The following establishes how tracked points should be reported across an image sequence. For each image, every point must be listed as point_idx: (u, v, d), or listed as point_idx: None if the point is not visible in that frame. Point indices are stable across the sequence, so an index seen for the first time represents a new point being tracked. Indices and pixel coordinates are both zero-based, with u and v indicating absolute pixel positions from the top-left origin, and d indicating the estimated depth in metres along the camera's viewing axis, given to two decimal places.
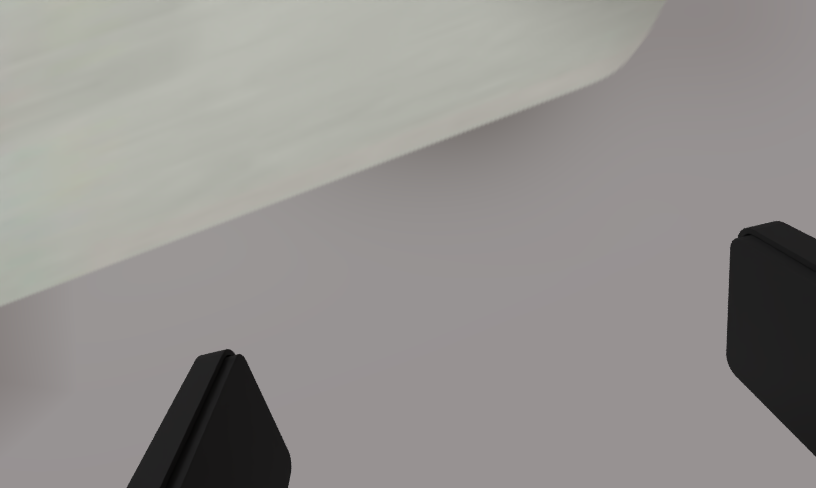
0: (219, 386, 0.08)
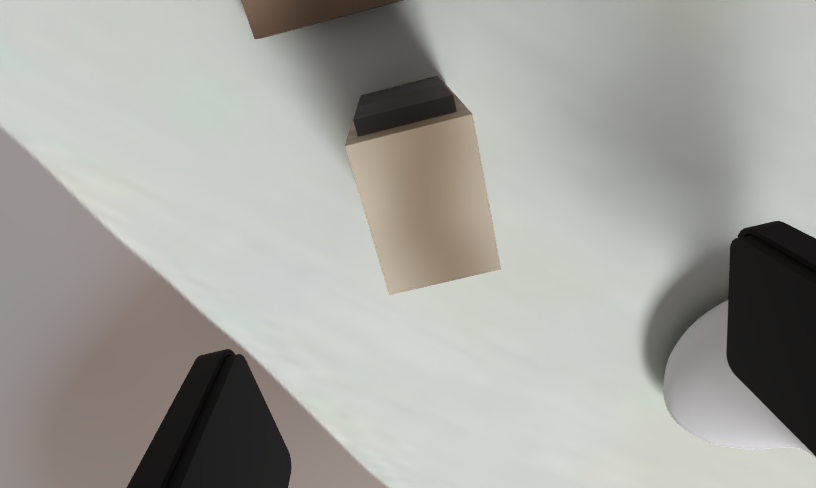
0: (219, 386, 0.08)
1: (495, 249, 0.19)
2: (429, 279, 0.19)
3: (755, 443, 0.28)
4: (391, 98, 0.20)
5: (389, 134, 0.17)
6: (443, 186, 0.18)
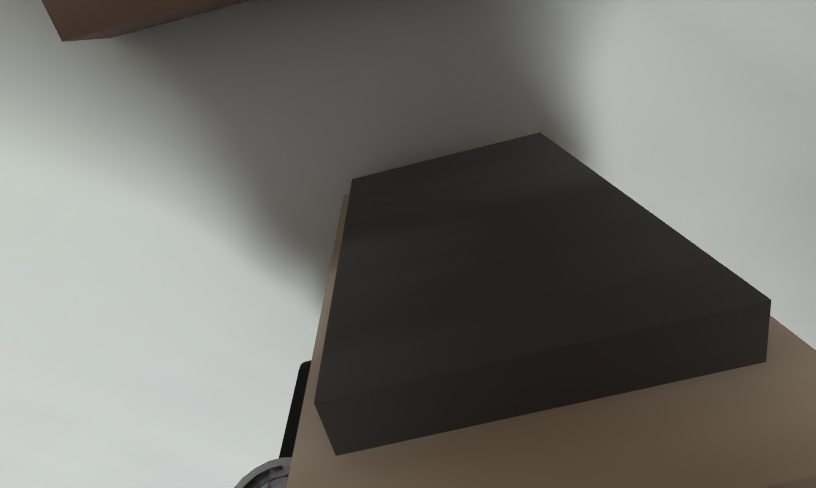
0: None
1: None
2: None
3: None
4: (445, 226, 0.06)
5: None
6: None
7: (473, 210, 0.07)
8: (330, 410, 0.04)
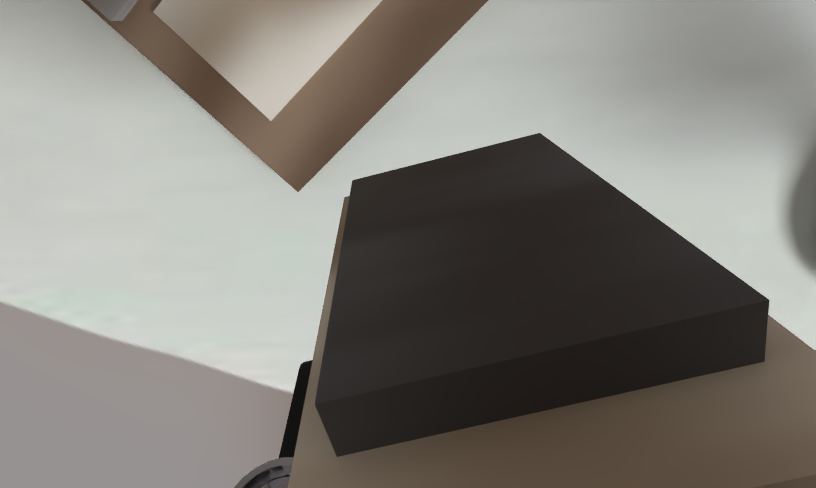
0: None
1: None
2: None
3: None
4: (445, 227, 0.06)
5: None
6: None
7: (473, 211, 0.07)
8: (331, 412, 0.04)
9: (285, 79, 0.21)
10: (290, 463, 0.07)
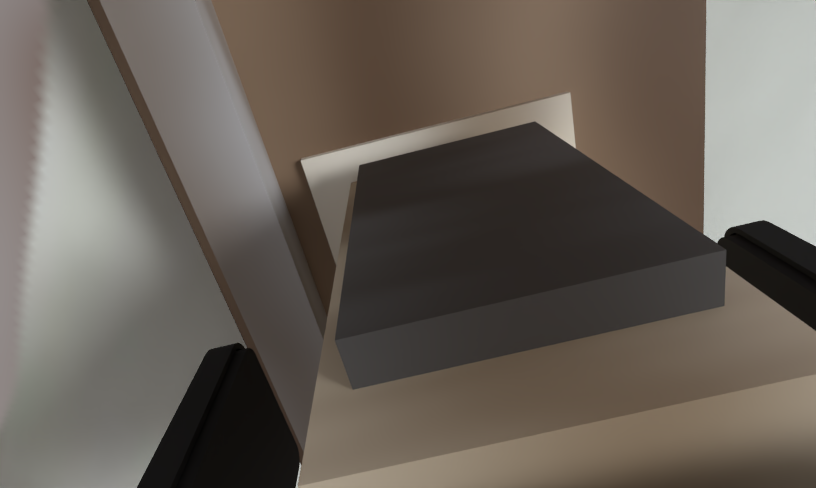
0: (230, 379, 0.08)
1: None
2: None
3: None
4: (447, 202, 0.07)
5: (487, 435, 0.04)
6: None
7: (472, 188, 0.07)
8: (348, 347, 0.05)
9: None
10: None
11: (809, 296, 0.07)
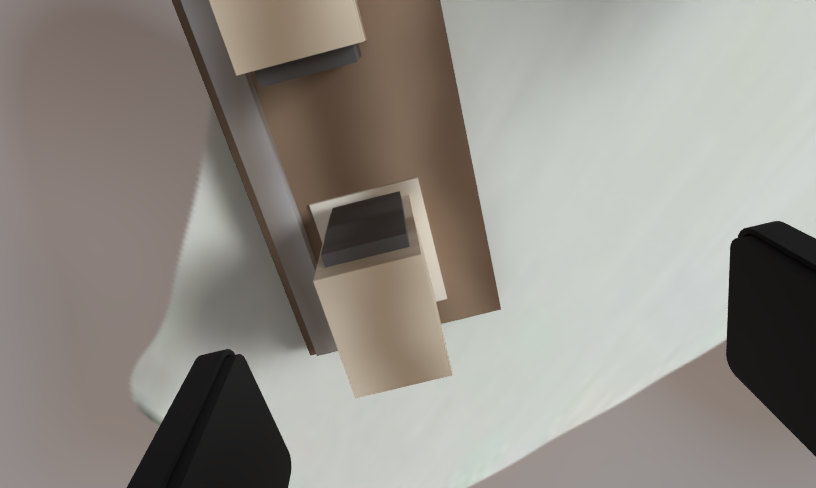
0: (219, 386, 0.08)
1: (446, 359, 0.22)
2: (390, 385, 0.22)
3: None
4: (356, 222, 0.23)
5: (351, 270, 0.20)
6: (399, 310, 0.20)
7: (365, 218, 0.23)
8: (324, 256, 0.20)
9: None
10: None
11: None
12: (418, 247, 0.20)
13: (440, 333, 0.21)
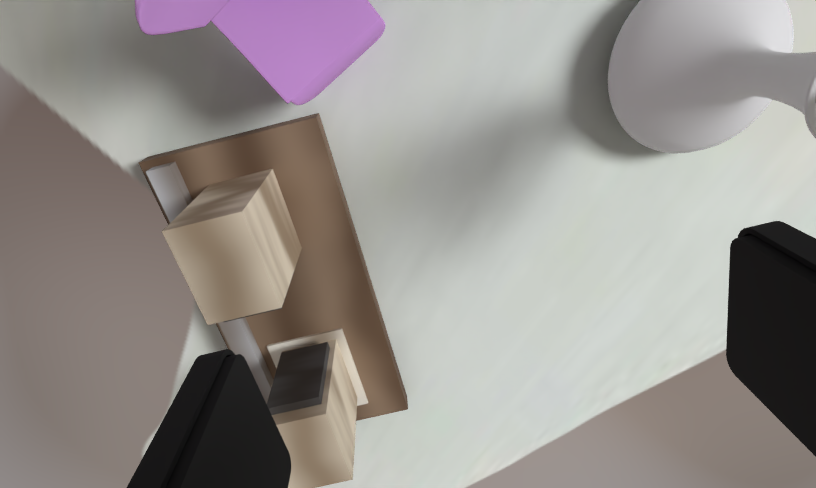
0: (219, 386, 0.08)
1: (347, 470, 0.33)
2: (312, 485, 0.34)
3: None
4: (292, 376, 0.35)
5: (282, 422, 0.32)
6: (314, 444, 0.32)
7: (299, 371, 0.35)
8: None
9: (354, 388, 0.41)
10: None
11: None
12: (326, 406, 0.32)
13: (342, 456, 0.33)
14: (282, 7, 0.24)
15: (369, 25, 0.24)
